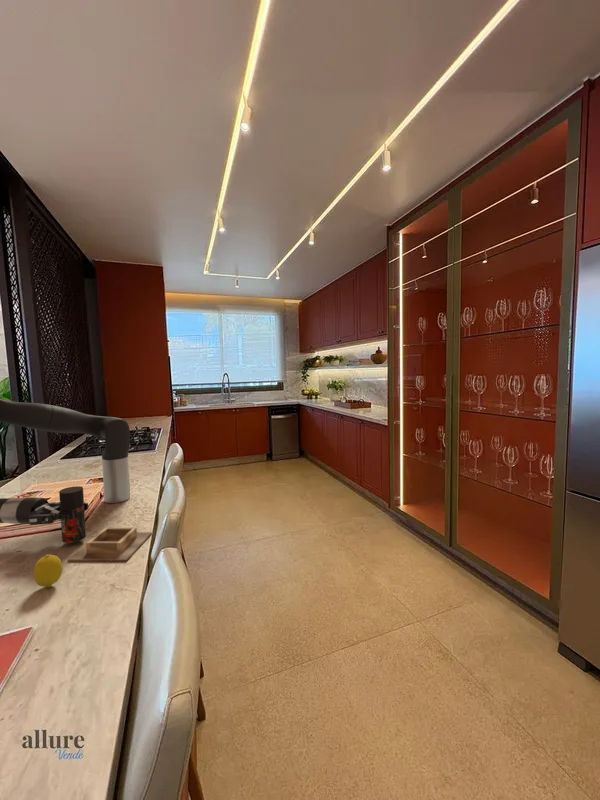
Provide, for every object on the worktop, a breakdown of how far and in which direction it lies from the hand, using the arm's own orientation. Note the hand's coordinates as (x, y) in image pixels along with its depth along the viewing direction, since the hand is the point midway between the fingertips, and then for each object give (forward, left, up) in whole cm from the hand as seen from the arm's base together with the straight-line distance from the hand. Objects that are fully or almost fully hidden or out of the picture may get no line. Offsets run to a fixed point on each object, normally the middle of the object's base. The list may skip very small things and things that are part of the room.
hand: (80, 510), depth 103 cm
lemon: (+21, +5, -10) cm, 24 cm away
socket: (+2, +10, -10) cm, 15 cm away
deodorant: (0, -2, -9) cm, 9 cm away
